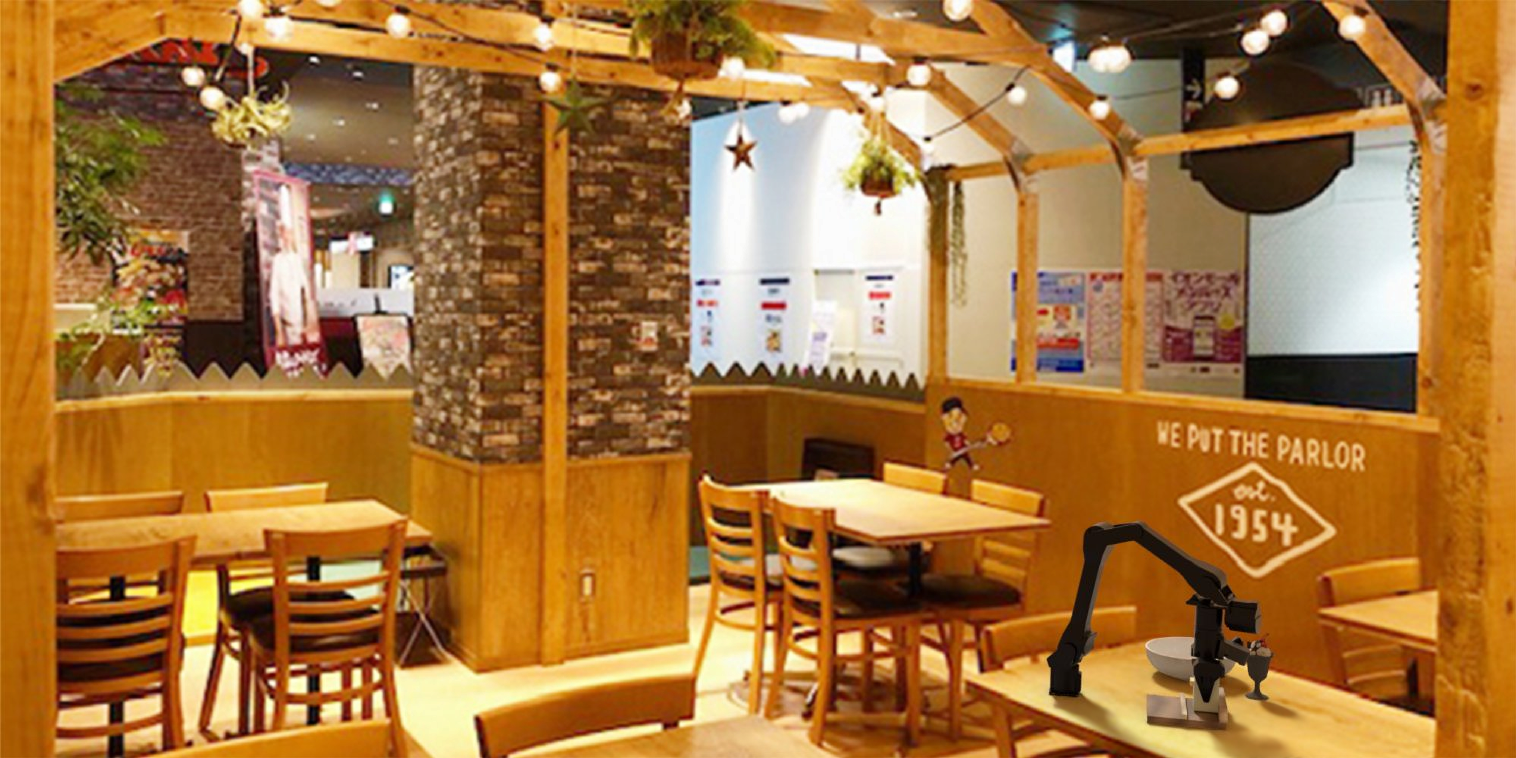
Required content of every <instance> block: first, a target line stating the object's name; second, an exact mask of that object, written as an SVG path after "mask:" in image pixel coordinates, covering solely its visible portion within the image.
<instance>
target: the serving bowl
mask: <svg viewBox="0 0 1516 758" xmlns="http://www.w3.org/2000/svg"><path fill="white" fill-rule="evenodd" d="M1193 643H1194V637H1188V636H1170V637H1169V636H1168V637H1159V638H1158V637H1157V638H1154V639H1151V640H1149V641H1147V642H1146V643H1145V645H1144V647H1145V654H1146V657H1147V660H1148V662H1149V663H1150V664H1151V666H1153V668H1154V669H1156V670H1157V671H1158V672H1160V673H1162V674H1163V675H1166V676H1169V677H1172V678H1175V679H1178V680H1181V681H1187V680H1188V682H1190V677H1193V678H1194V675H1193V665H1192V660H1191V659H1196V657H1193V656H1191V645H1192V644H1193ZM1216 660H1218V659H1216ZM1220 661H1221V662H1222V663H1223V664H1224V667H1225V676H1226V675H1227V674H1229V673H1230V672H1231V671H1232V670H1233V668H1234V667H1235V665H1236V664H1237V662H1234V661H1232V660H1230V659H1227V658H1225V657H1224V660H1220Z"/></svg>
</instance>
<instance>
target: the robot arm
mask: <svg viewBox="0 0 1516 758" xmlns="http://www.w3.org/2000/svg"><path fill="white" fill-rule="evenodd" d="M1128 542H1135V543H1137V544H1138V545H1139V546H1141V547H1142V548H1143V549H1145V550H1146V551H1148V552H1149V553H1151V554H1152V555H1153V556H1155V557H1157V558H1158V559H1159V560H1161V561H1162V562H1163V563H1165V564H1166V565H1167V566H1169V567H1170V568H1172V569H1173V570H1174V571H1175V572H1177V573H1179V575H1180V576H1181V577H1182V578H1183V579H1184V581H1185V582H1186V584H1187V585H1188V586H1189V587H1190V588H1191V589H1192V590H1193V591H1194V592H1195V593H1193V594H1192V596H1191V597H1190V598H1189V599H1187V600H1186V601H1185V604H1186V605H1187V606H1193V607H1194V606H1195V609H1194V628H1193V635H1194V637H1193V638H1194V643H1193V644H1192V645H1191V656H1193V657H1196V659H1191V660H1192V665H1193V675H1194V677H1195V679H1196V682H1197V685H1198V688H1199V691H1200V693H1201V696H1202V699H1203V702H1204V703H1209V701H1210V697H1211V694H1212V690H1213V687H1214V683H1215V681H1216V680H1218V679H1219V678H1220V679H1224V678H1225V677H1226V675H1225V667H1224V664H1223V663H1222V662H1221V661H1220V660H1224V657H1225V658H1227V659H1230V660H1232V661H1234V662H1236V664H1238V665H1239V666H1241V667H1245V666H1246V665H1247V660H1248V658H1249V655H1250V650H1249V648H1247V645H1244V640H1243V638H1241V637H1239V636H1237V635H1236V636H1234V637H1233V638H1232V639H1229V638H1228V639H1227V638H1225V635H1224V631H1223V629H1224V627H1223V626H1225V627H1226V628H1228V629H1229V631H1231V632H1239V633H1246V634H1251V635H1252V634H1253V635H1259V634H1260V631H1261V628H1262V621H1263V619H1262V618H1263V615H1262V614H1261V613H1262V612H1261V607H1260V601H1258V600H1257V601H1256V600H1243V599H1237V598H1238V597H1237V596H1236V594H1235V593H1234V591H1233V590H1232V589H1231V587H1230V585H1229V583H1228V578H1227V574H1226V573H1225V572H1224V571H1223V569H1221V568H1220V567H1217V566H1215V565H1212V564H1211V563H1209V562H1207V561H1203V560H1201V559H1197V558H1195V557H1194V556H1191V555H1189V554H1188V553H1187V552H1186V551H1184V550H1183V549H1181V548H1179V547H1178V545H1176V544H1175V543H1173V542H1171V541H1170V540H1169V539H1167V538H1166V537H1164V536H1163V535H1161V534H1160V533H1158V531H1156V530H1154V529H1153V528H1152V527H1150V526H1149V525H1148V523H1146V522H1145V521H1143V520H1136V521H1134V522H1126V523H1125V522H1124V523H1123V522H1122V523H1116V524H1111V523H1109V522H1107V521H1101V522H1098V523H1096V524H1094V525H1091V526H1089V527H1087V528H1086V529H1085V530H1084V532H1083V536H1082V555H1083V566H1082V570H1081V574H1080V578H1079V582H1078V587H1077V591H1076V595H1075V600H1074V604H1073V608H1072V612H1071V616H1070V620H1069V622H1068V624H1067V625H1066V627H1065V629H1064V631H1063V632H1062V635H1061V637H1060V639H1059V641H1058V644H1057V646H1056V650H1055V651H1054V652H1052V653H1051V654H1050V655H1048V656H1047V658H1046V663H1047V666H1048V668H1050V669H1049V670H1050V672H1049V675H1050V676H1049V689H1048V695H1057V696H1059V695H1060V696H1068V697H1079V693H1081V692H1082V681H1083V680H1082V678H1083V677H1082V676H1083V671H1080V664H1079V663H1081V662H1082V660H1083V658H1084V657H1086V656H1087V655H1088V654H1089V653H1090V652H1091V651H1092V650H1094V649H1095V646H1094V643H1095V639H1096V638H1097V635H1098V632H1097V631H1094V630H1092V628H1091V621H1092V618H1093V617H1092V616H1093V613H1094V609H1095V604H1096V599H1097V595H1098V591H1099V589H1100V588H1099V587H1100V583H1101V578H1102V574H1103V570H1104V567H1105V564H1106V562H1107V561H1108V558H1110V555H1111V554H1112V552H1113V549H1114V548H1115V545H1118V544H1123V543H1124V544H1125V543H1128ZM1216 659H1218V660H1216Z"/></svg>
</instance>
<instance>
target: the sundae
mask: <svg viewBox="0 0 1516 758" xmlns="http://www.w3.org/2000/svg"><path fill="white" fill-rule="evenodd" d="M1269 635H1270V633H1268V632H1266V633H1265V635H1264V636H1263V637H1261V638H1259V639H1258V640H1254V641H1253V642H1251V641H1249V640H1247V641H1246V646H1247V648H1249V650H1250V655H1249V658H1248V660H1247V662H1246V666H1247V673H1248V677H1249V678H1250V679H1251V680H1252V681H1253V682H1254V688H1253V690H1252V692H1247V693H1246V694H1245V695H1244V696H1245V697H1246V698H1248V699H1250V700H1255V701H1266V700H1268V699H1269V696H1268V695H1266V694H1264V693H1262V692H1261V683H1262V682H1263V681H1264V680H1265V679H1267V677H1268V674H1269V671H1270V663H1271V659H1272V658H1274V657H1275V653H1274V652H1271V649H1270V648H1269V647H1268V642H1266V638H1267V637H1268V636H1269Z"/></svg>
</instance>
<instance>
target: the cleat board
mask: <svg viewBox="0 0 1516 758" xmlns="http://www.w3.org/2000/svg"><path fill="white" fill-rule="evenodd" d="M1228 708H1229V707H1228V704H1227V700H1226V695H1225V690H1224V687H1222V686H1221V687H1220V686H1219V705H1218V713H1216V712H1205V711H1195V710H1193V697H1186V693H1184V692H1179V696H1170V695H1160V694H1148V693H1147V694H1146V723H1147V724H1157V725H1167V726H1175V727H1176V726H1178V727H1189V728H1199V729H1211V730H1217V731H1219V730H1220V731H1221V730H1222V731H1227V730H1228V715H1229V713H1228V711H1229V710H1228Z"/></svg>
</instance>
